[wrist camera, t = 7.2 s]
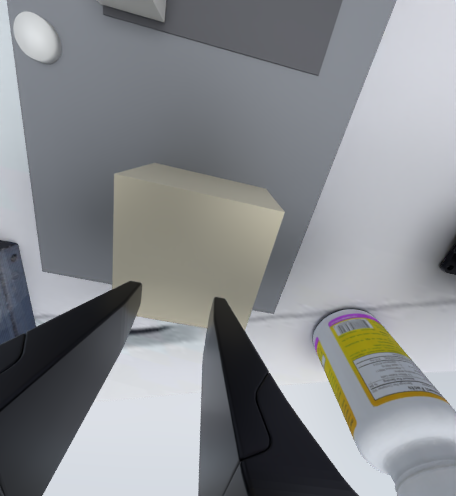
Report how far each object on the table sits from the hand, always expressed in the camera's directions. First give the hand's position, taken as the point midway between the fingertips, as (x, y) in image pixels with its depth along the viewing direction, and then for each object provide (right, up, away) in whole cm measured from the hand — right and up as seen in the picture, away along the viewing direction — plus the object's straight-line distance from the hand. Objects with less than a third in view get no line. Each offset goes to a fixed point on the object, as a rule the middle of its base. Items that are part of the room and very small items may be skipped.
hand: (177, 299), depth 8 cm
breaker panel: (-1, +10, +7) cm, 13 cm away
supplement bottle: (+14, -7, +15) cm, 22 cm away
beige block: (0, +3, +7) cm, 8 cm away
